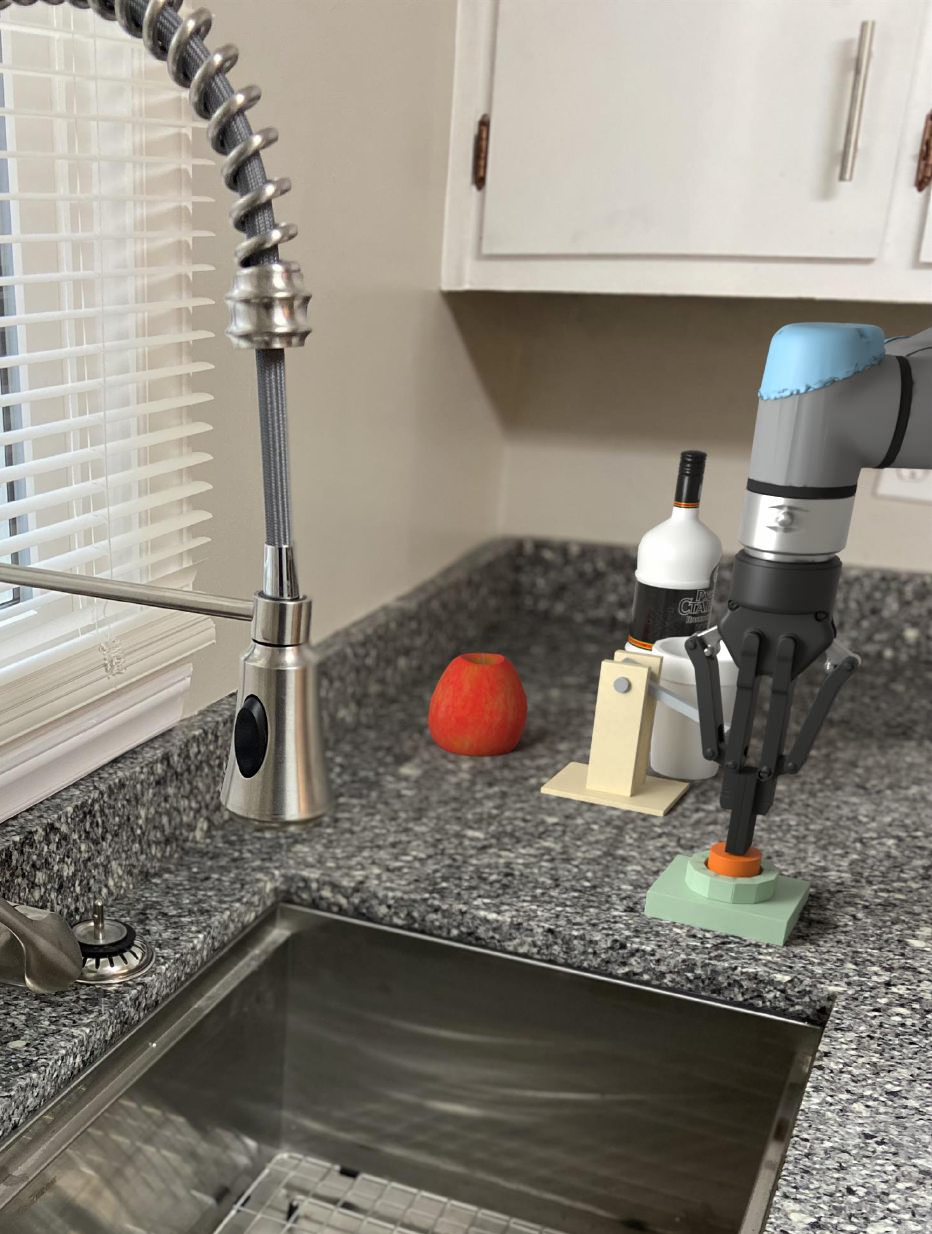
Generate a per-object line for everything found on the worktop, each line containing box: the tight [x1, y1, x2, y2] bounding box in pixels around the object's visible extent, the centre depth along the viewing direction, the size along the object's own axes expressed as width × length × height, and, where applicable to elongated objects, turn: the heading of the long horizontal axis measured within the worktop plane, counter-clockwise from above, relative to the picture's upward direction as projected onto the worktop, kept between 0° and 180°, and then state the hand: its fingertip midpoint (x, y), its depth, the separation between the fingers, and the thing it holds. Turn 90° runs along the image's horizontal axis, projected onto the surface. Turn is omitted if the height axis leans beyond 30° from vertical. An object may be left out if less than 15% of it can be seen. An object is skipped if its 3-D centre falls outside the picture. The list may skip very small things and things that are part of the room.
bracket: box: [540, 649, 690, 818], centre depth 142 cm, size 12×9×14 cm
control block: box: [643, 849, 812, 947], centre depth 121 cm, size 11×9×4 cm
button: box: [707, 841, 763, 878], centre depth 120 cm, size 4×4×2 cm
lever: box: [621, 657, 731, 744], centre depth 139 cm, size 13×6×2 cm, turn 59°
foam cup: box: [650, 637, 739, 781], centre depth 148 cm, size 10×9×13 cm
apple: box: [427, 651, 529, 757], centre depth 156 cm, size 10×10×10 cm
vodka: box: [624, 449, 723, 654], centre depth 155 cm, size 9×9×30 cm
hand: (738, 848), depth 120 cm, fingers closed
